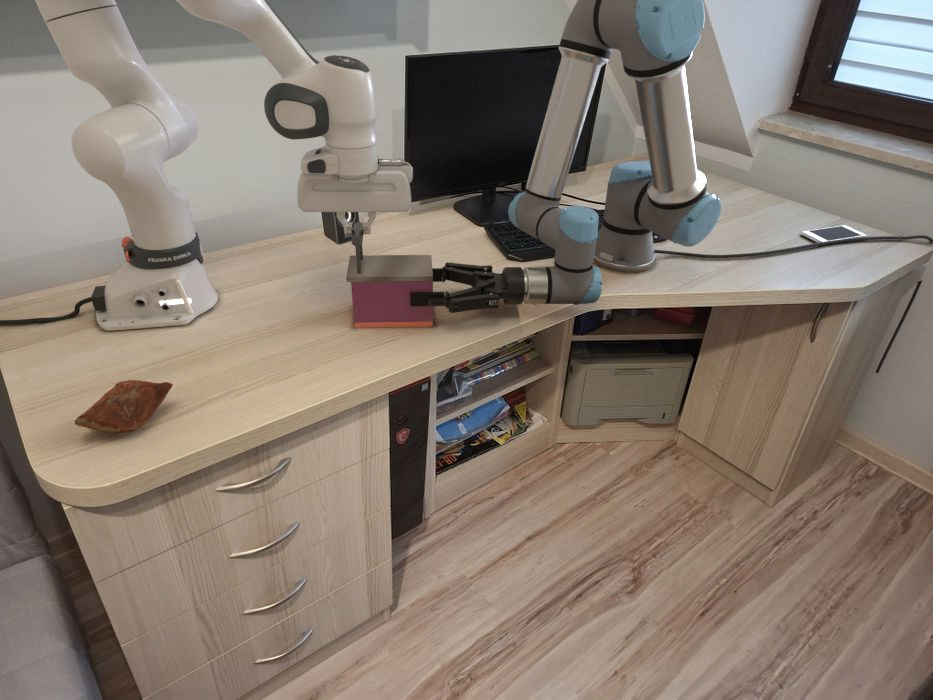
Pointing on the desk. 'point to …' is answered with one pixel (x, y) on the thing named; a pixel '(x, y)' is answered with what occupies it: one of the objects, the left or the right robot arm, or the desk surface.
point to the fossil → (125, 406)
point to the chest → (390, 304)
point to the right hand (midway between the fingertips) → (410, 286)
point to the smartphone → (832, 234)
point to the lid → (386, 264)
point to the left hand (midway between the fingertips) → (357, 233)
